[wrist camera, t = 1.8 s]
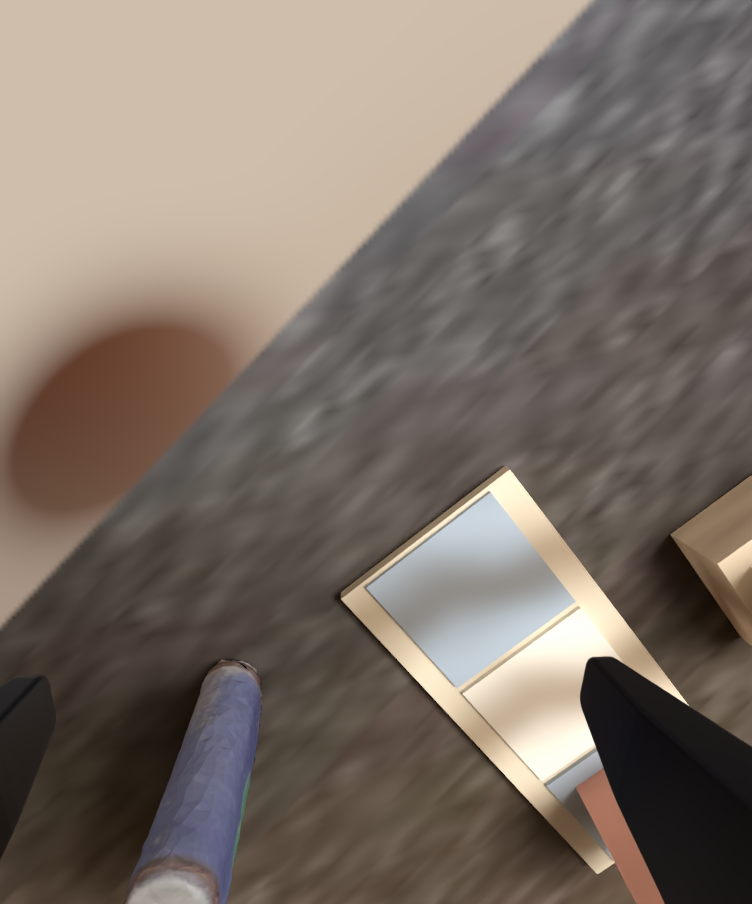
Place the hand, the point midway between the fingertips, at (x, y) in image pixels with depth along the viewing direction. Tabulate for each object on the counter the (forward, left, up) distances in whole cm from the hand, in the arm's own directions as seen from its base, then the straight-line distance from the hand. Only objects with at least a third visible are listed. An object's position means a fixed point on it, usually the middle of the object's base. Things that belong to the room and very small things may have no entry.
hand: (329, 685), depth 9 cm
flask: (-7, +13, -14) cm, 20 cm away
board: (-15, -1, -13) cm, 20 cm away
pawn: (-22, -1, -13) cm, 25 cm away
